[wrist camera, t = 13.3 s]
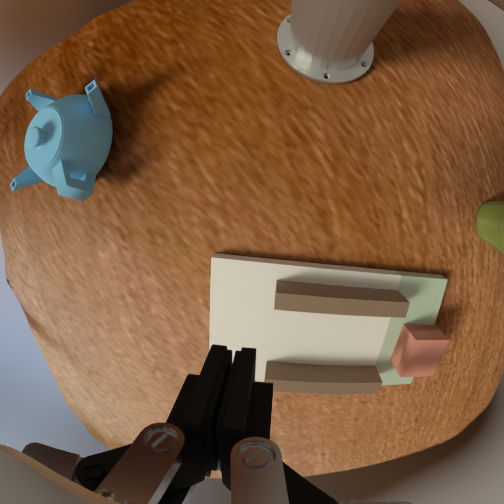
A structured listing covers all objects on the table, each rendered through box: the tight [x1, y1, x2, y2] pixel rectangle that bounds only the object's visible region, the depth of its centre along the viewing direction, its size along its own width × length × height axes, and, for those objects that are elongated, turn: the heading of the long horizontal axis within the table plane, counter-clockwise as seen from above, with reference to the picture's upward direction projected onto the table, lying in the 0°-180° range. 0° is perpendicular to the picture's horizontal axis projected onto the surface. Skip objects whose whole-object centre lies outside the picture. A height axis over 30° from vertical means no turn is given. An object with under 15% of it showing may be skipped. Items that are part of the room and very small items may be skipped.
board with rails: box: [209, 253, 448, 394], centre depth 34 cm, size 18×32×6 cm, turn 85°
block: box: [390, 324, 450, 377], centre depth 32 cm, size 6×6×4 cm
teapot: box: [11, 80, 113, 201], centre depth 28 cm, size 15×15×11 cm
